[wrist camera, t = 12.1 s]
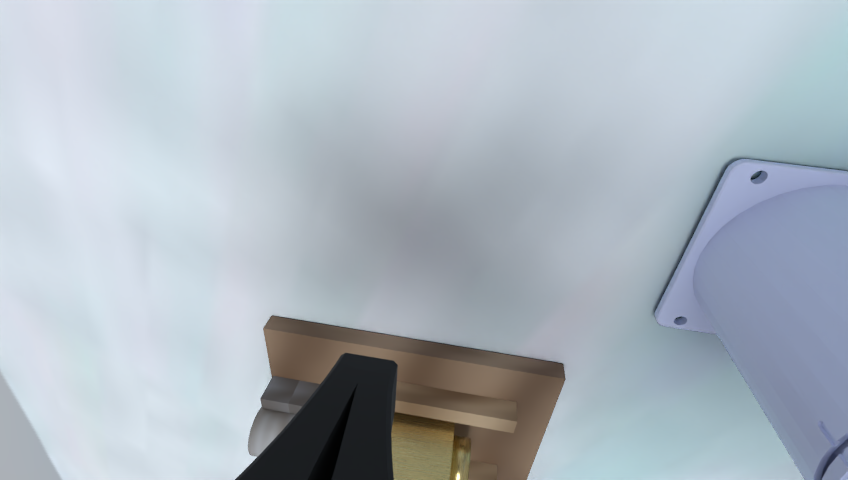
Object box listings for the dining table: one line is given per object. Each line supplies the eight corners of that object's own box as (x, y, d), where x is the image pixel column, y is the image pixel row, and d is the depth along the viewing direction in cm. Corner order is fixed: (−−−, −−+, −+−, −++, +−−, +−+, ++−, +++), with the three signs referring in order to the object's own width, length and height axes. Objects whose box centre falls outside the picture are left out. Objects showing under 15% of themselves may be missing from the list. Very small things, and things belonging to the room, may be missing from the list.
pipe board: (563, 363, 22) (577, 456, 18) (518, 484, 29) (521, 573, 24) (271, 315, 24) (221, 391, 19) (291, 440, 30) (257, 518, 26)
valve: (474, 411, 24) (467, 523, 19) (466, 452, 26) (458, 562, 21) (344, 389, 25) (306, 492, 20) (347, 431, 27) (313, 533, 22)
